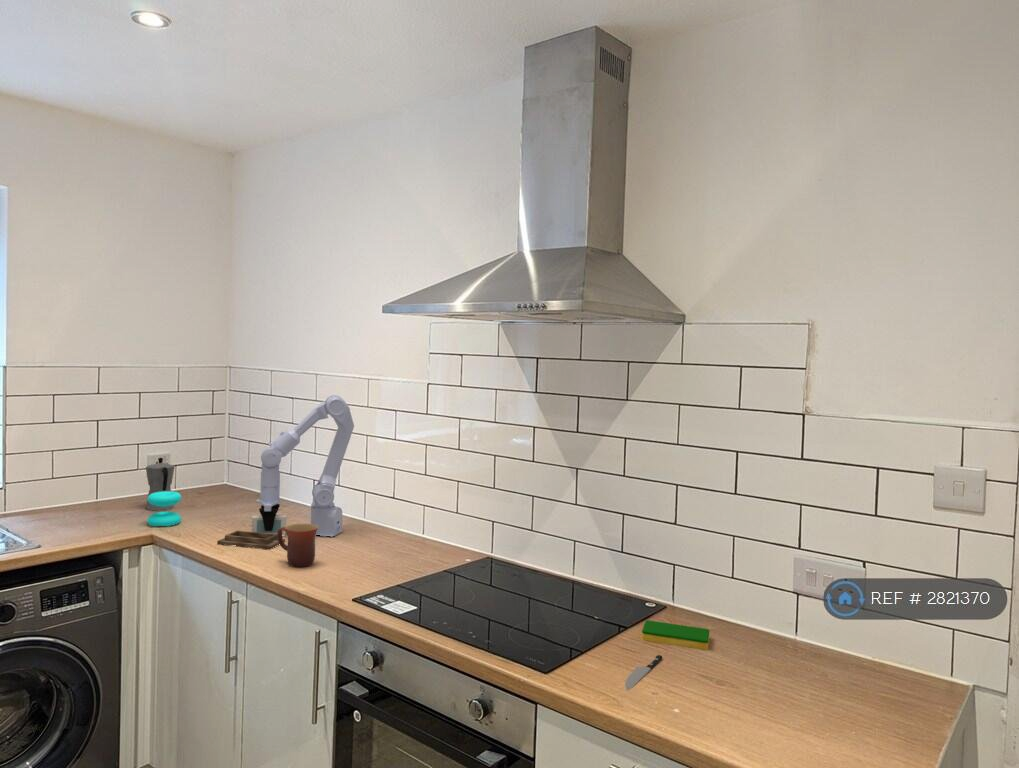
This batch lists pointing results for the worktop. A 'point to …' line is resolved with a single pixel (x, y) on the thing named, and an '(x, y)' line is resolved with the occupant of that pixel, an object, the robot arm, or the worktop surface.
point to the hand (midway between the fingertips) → (269, 529)
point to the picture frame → (278, 523)
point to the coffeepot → (159, 481)
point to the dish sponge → (675, 634)
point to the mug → (299, 543)
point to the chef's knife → (640, 673)
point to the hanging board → (250, 539)
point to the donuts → (166, 516)
